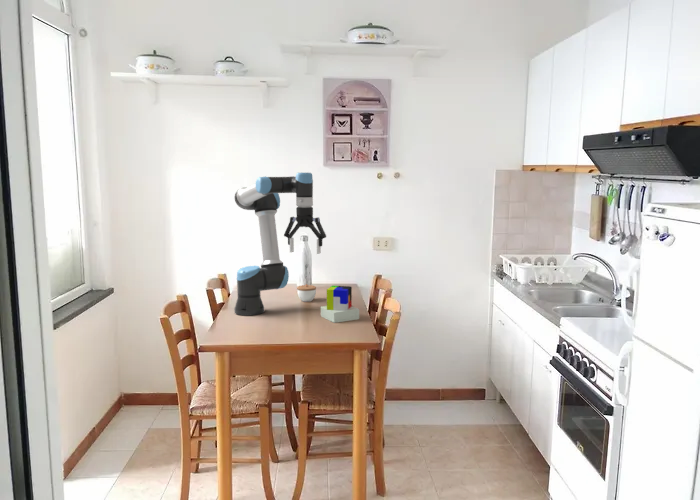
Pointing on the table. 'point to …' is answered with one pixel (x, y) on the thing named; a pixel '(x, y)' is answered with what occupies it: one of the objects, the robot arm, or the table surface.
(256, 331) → the table surface
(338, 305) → the puzzle toy
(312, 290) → the lidded jar
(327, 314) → the pedestal
